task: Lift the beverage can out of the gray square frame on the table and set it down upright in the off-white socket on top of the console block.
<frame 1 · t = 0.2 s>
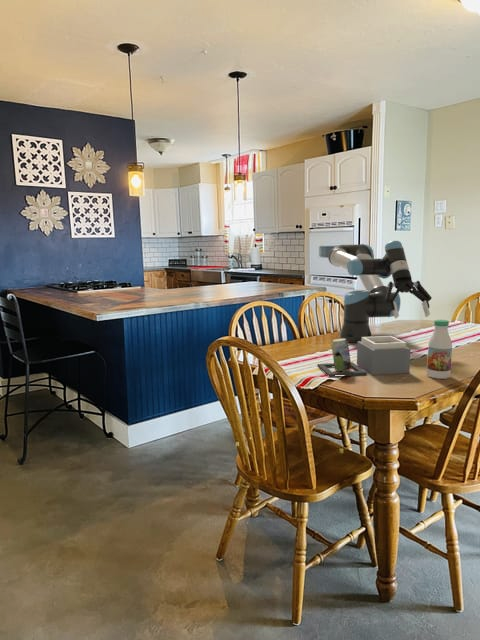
hand: (412, 316, 197), 16 cm above the table, tool tilted 35°, fingers open, 13 cm apart
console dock: (382, 368, 177), on the table
beverage can: (341, 371, 175), resting in gray square frame
milk bottle: (438, 376, 166), on the table
gray square frame: (341, 370, 175), on the table
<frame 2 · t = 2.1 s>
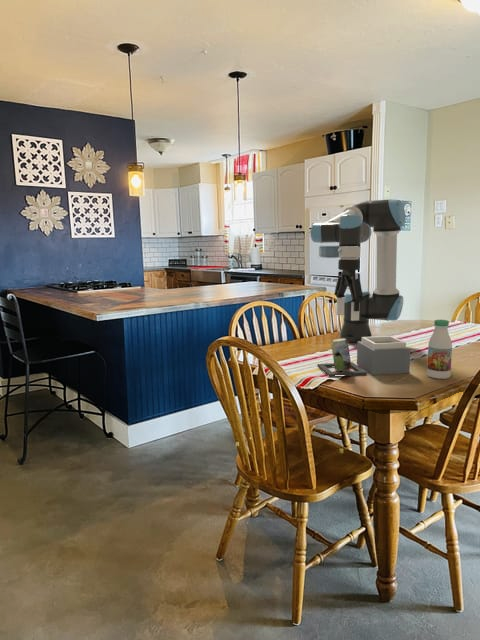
hand: (347, 317, 172), 20 cm above the table, tool pointing down, fingers open, 13 cm apart
nothing on the table moved.
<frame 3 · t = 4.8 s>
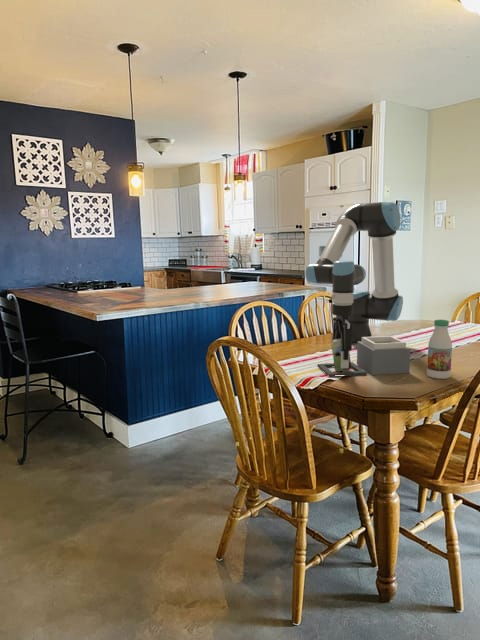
hand: (341, 365, 175), 2 cm above the table, tool pointing down, fingers closed on beverage can, 7 cm apart
beverage can: (341, 371, 175), resting in gray square frame, touching gripper
everything else where it was.
when the fingers open (12 cm above the table, at t = 10.2 s): beverage can drops 1 cm, resting on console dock.
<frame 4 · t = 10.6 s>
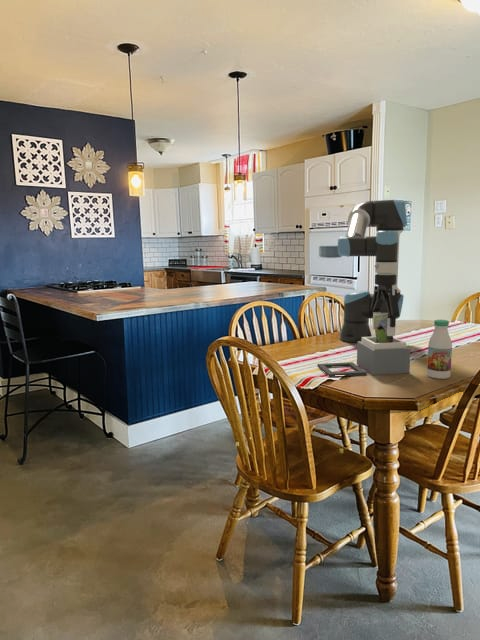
hand: (383, 332, 175), 14 cm above the table, tool pointing down, fingers open, 12 cm apart
beverage can: (383, 345, 176), point 9 cm above the table, touching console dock
everything else where it was.
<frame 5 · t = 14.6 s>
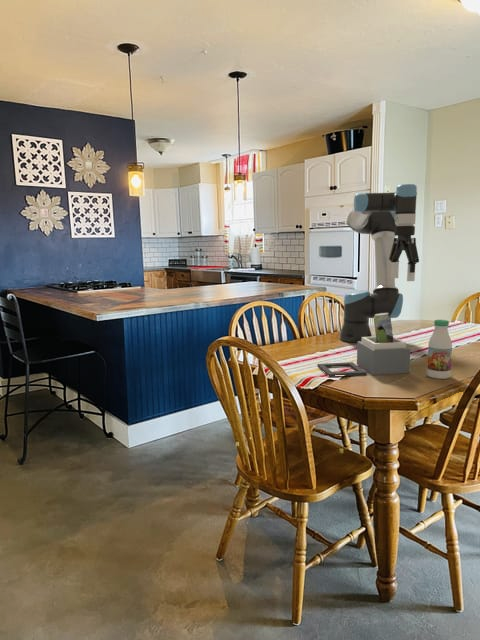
hand: (402, 279, 188), 32 cm above the table, tool pointing down, fingers open, 13 cm apart
nothing on the table moved.
at the end: beverage can 0.2 cm off-centre on the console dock, point 8.8 cm above the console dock's base; beverage can tilted 0°; the gripper is holding nothing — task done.
